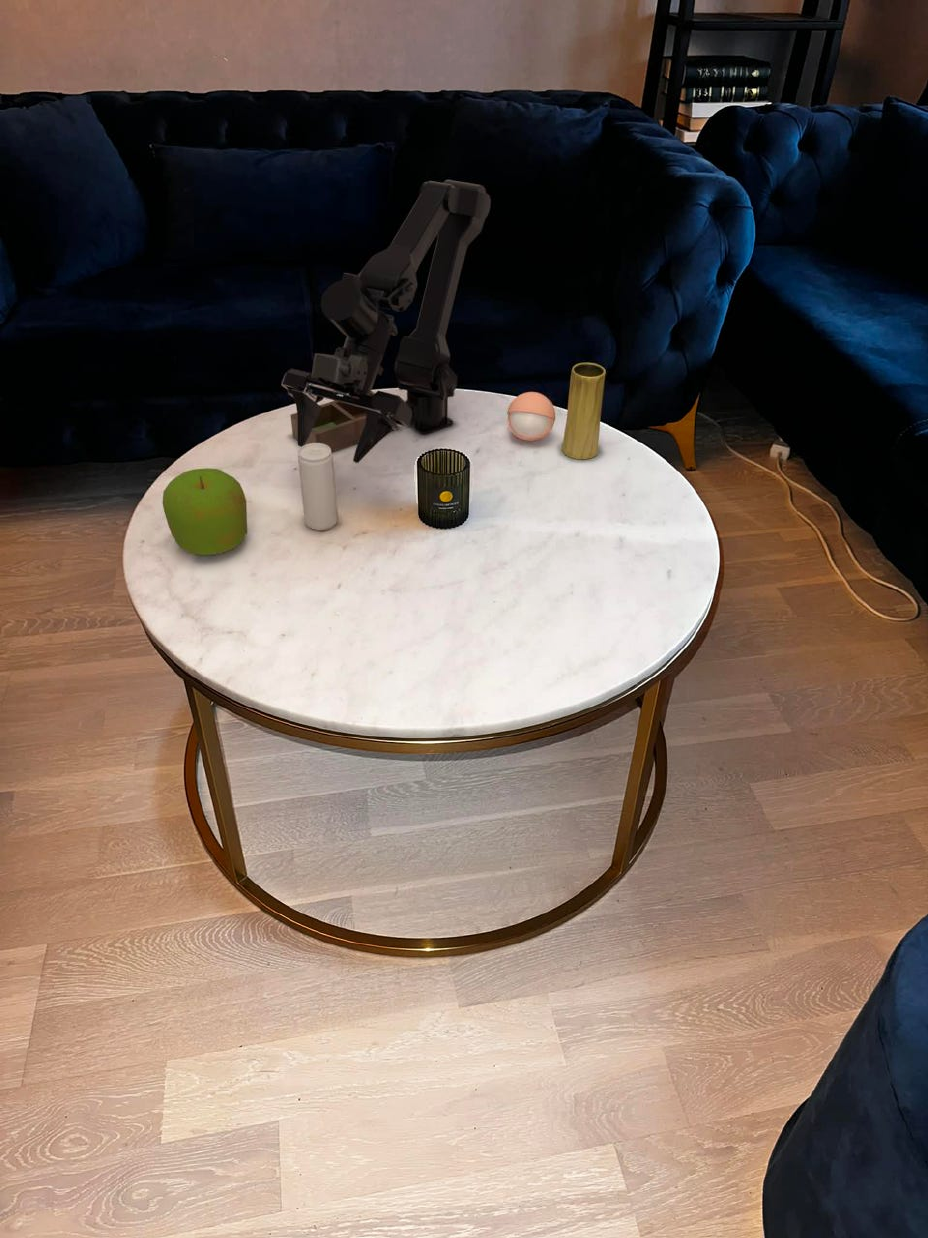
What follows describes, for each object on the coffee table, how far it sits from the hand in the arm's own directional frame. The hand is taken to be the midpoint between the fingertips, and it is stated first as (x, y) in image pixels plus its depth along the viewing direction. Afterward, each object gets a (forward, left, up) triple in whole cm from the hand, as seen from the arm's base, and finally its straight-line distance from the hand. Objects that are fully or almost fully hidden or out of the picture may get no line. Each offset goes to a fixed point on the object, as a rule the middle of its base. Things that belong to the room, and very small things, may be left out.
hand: (327, 454), depth 133 cm
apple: (+18, -4, -10) cm, 21 cm away
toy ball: (-38, 0, -10) cm, 40 cm away
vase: (-42, +8, -10) cm, 44 cm away
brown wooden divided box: (-14, -19, -10) cm, 25 cm away
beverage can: (+3, +1, -10) cm, 11 cm away
